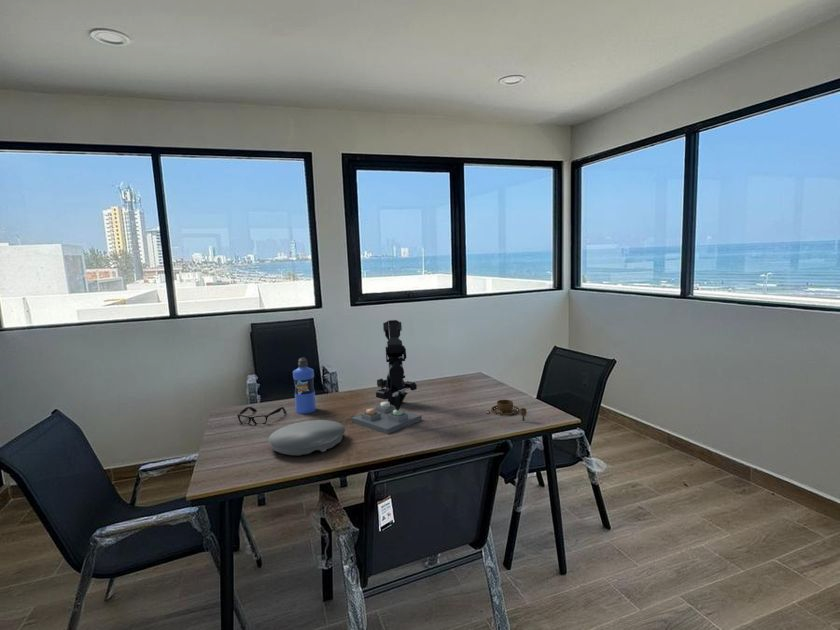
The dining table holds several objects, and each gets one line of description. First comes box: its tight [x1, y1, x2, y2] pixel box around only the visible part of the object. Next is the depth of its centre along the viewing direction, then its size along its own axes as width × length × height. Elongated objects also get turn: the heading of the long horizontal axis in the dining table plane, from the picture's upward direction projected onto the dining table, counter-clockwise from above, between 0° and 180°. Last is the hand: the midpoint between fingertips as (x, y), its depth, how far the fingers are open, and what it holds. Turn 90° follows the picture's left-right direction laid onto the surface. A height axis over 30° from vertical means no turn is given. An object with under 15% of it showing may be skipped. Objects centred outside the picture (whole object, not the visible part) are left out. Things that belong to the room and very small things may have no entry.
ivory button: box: [380, 401, 390, 409], centre depth 198 cm, size 4×4×2 cm
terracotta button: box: [365, 407, 376, 416], centre depth 190 cm, size 4×4×2 cm
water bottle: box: [292, 357, 317, 415], centre depth 208 cm, size 9×9×25 cm
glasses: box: [236, 406, 286, 425], centre depth 201 cm, size 16×18×5 cm
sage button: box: [393, 408, 404, 417], centre depth 187 cm, size 4×4×2 cm
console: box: [351, 404, 423, 435], centre depth 191 cm, size 20×22×4 cm
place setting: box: [488, 399, 527, 421], centre depth 194 cm, size 18×20×6 cm
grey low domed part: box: [268, 419, 346, 456], centre depth 169 cm, size 28×28×4 cm
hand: (397, 409), depth 187 cm, fingers closed
